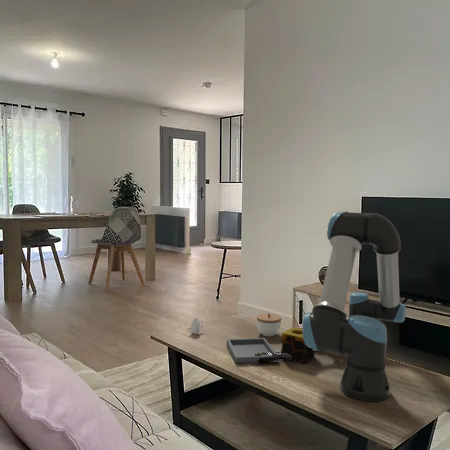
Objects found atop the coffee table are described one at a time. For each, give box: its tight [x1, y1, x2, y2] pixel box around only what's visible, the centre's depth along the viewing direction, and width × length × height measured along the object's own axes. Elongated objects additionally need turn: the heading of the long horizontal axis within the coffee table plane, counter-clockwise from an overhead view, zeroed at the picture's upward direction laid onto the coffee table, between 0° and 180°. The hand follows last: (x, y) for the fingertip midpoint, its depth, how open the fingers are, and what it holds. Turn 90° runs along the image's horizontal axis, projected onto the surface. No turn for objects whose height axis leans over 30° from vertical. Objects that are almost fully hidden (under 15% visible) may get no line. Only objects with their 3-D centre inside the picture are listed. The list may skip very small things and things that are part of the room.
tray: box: [226, 337, 279, 365], centre depth 173 cm, size 20×16×2 cm
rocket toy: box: [187, 316, 204, 335], centre depth 195 cm, size 5×5×8 cm
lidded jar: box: [256, 313, 282, 337], centre depth 197 cm, size 11×11×9 cm
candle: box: [280, 326, 316, 365], centre depth 170 cm, size 10×10×10 cm
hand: (301, 341), depth 171 cm, fingers open, 13 cm apart
